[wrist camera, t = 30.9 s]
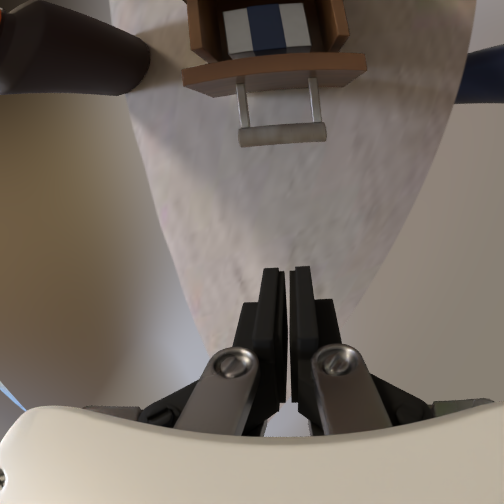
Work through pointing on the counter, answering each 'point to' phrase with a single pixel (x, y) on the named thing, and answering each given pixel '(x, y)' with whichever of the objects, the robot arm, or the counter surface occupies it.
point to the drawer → (272, 65)
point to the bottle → (66, 53)
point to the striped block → (267, 30)
